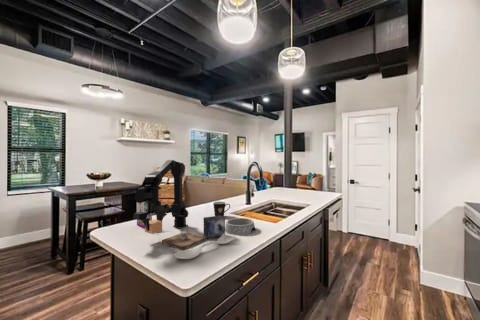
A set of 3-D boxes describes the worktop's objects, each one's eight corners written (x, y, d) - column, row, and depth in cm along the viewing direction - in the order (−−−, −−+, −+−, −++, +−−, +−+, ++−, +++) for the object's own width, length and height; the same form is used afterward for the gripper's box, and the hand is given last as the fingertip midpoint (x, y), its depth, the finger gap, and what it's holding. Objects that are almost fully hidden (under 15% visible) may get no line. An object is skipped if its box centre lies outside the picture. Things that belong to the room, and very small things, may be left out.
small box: (207, 240, 123) (206, 220, 123) (203, 236, 129) (202, 217, 128) (225, 236, 128) (225, 217, 127) (221, 233, 133) (220, 214, 133)
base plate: (185, 234, 133) (185, 226, 132) (206, 239, 123) (206, 231, 123) (161, 243, 120) (161, 234, 119) (182, 250, 110) (182, 240, 110)
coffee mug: (212, 217, 166) (211, 203, 166) (215, 214, 175) (215, 201, 174) (228, 218, 164) (227, 204, 164) (230, 215, 173) (230, 201, 172)
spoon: (236, 243, 119) (236, 236, 119) (182, 265, 96) (182, 257, 96) (224, 238, 125) (224, 232, 125) (170, 258, 102) (170, 250, 102)
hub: (145, 231, 121) (144, 221, 121) (155, 228, 126) (155, 219, 125) (152, 234, 117) (151, 223, 117) (162, 230, 122) (162, 220, 122)
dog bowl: (219, 232, 135) (219, 223, 135) (234, 224, 151) (234, 216, 151) (246, 237, 127) (246, 227, 127) (259, 228, 143) (259, 219, 143)
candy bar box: (152, 226, 147) (152, 200, 147) (145, 228, 144) (144, 201, 143) (144, 223, 155) (143, 198, 154) (136, 225, 151) (135, 199, 150)
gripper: (145, 204, 109) (146, 237, 109) (177, 197, 124) (178, 227, 124) (132, 201, 115) (133, 233, 116) (164, 195, 130) (165, 223, 131)
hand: (153, 229), depth 121 cm, fingers closed on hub, 6 cm apart
